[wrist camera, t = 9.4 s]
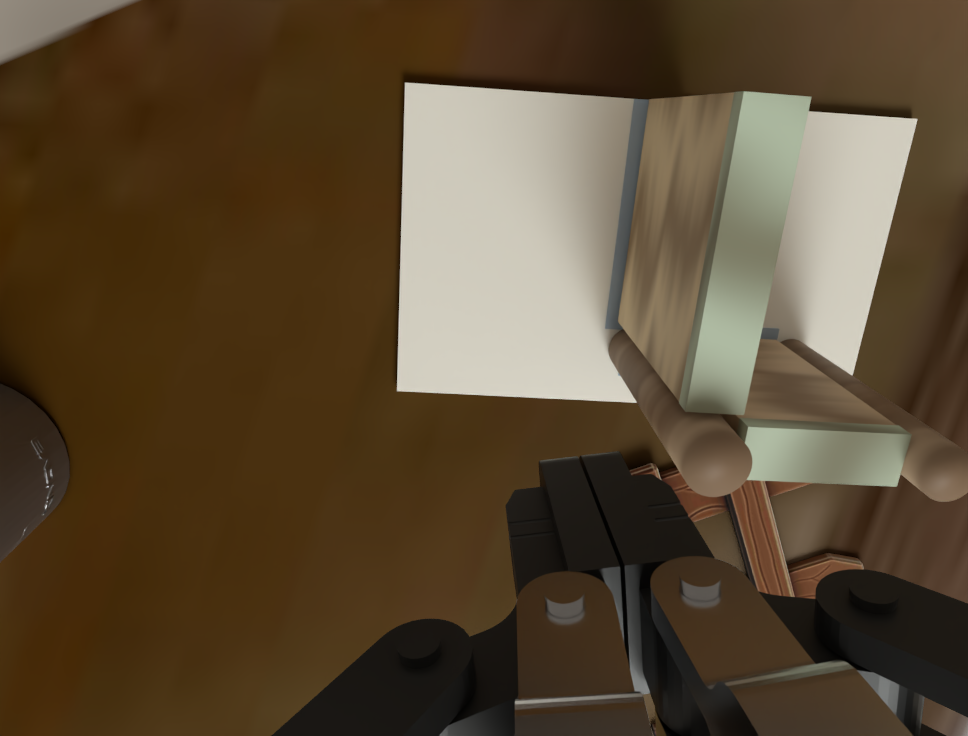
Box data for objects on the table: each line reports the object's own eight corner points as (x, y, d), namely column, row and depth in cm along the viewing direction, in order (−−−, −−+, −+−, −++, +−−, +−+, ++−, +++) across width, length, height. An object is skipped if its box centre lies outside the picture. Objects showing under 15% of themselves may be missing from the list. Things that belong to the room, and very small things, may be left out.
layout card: (397, 388, 38) (396, 391, 37) (405, 83, 33) (404, 82, 32) (839, 409, 39) (843, 413, 38) (912, 118, 34) (918, 119, 33)
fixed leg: (605, 369, 37) (678, 495, 25) (611, 325, 36) (688, 432, 24) (802, 379, 38) (967, 507, 25) (812, 336, 37) (988, 446, 25)
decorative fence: (665, 765, 48) (885, 700, 47) (673, 788, 46) (900, 721, 45) (560, 482, 40) (818, 395, 39) (565, 498, 39) (834, 407, 38)
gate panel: (657, 323, 36) (744, 415, 25) (616, 321, 36) (685, 411, 25) (693, 102, 32) (811, 96, 22) (647, 99, 32) (744, 91, 21)
